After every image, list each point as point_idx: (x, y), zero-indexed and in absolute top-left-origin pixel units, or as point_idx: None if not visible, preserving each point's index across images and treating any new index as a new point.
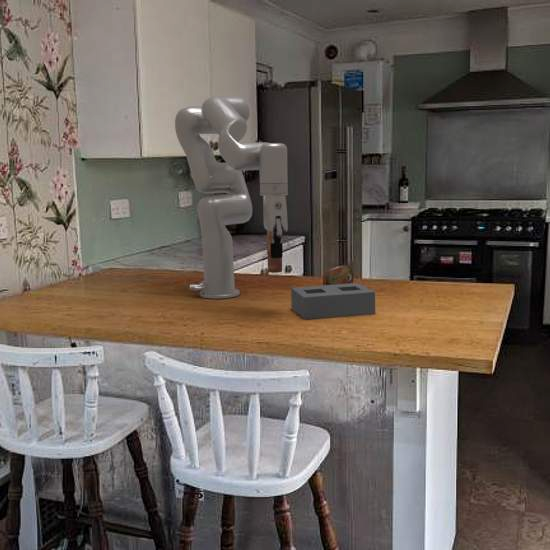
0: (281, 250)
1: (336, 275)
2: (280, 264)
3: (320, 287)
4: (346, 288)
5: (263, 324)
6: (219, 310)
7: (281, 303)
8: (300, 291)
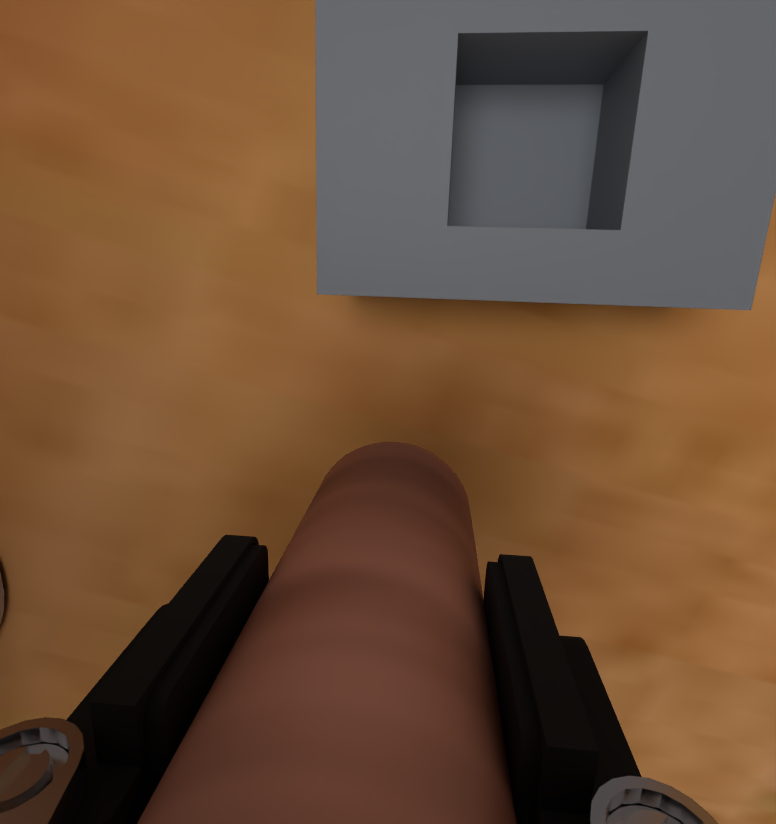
0: (548, 638)
1: None
2: (461, 512)
3: (399, 24)
4: None
5: (666, 543)
6: None
7: (191, 309)
8: (499, 263)
